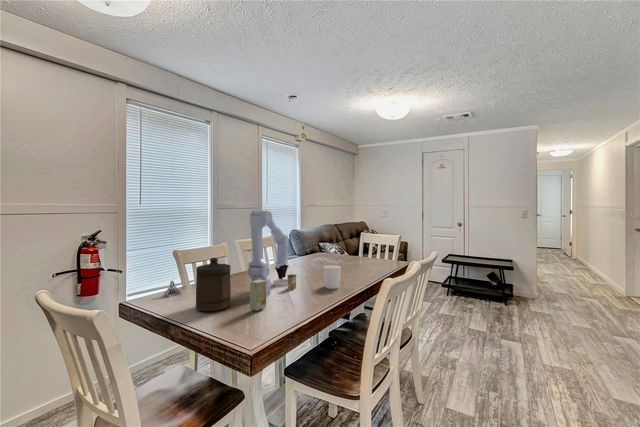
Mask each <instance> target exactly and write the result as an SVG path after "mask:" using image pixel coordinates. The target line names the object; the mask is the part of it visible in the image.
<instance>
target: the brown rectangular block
mask: <svg viewBox="0 0 640 427" xmlns="http://www.w3.org/2000/svg"><path fill="white" fill-rule="evenodd" d="M286 275H287V274H286ZM287 279H288V285H287V290H289V291H294V290H295V289H297V274H293V273H292V274H291V273H290V274H288V275H287Z"/></svg>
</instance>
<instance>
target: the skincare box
mask: <svg viewBox="0 0 640 427" xmlns="http://www.w3.org/2000/svg"><path fill="white" fill-rule="evenodd" d="M249 287H250V289H249V290H250V291H249V292H250V294H249V295H250V297H249V309H250V310H252V311H259V310H262V309H265V308H267V297H266V280H261V279H260V280H255V281H250V285H249Z"/></svg>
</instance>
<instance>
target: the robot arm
mask: <svg viewBox="0 0 640 427" xmlns="http://www.w3.org/2000/svg"><path fill="white" fill-rule="evenodd" d="M249 221H250V232H251V233H250V235H251V237H250V238H251V249H252V250H251V251H252V260H251V261H249V263H248V269H247V274H248V276H249V278H250V280H251V281H255V280H260V279H261V280H266V298H268V297H269V296H270V295H272V293H271V292H272V291H271V290H272V286H271V285H272V284H271V283H272V282H271V279H270V278H268V276H269V275H270V269H269V268H270V267H269V264H268V262H267V261H266V260H265V259H264V248H263V247H264V246H263V244H264V243H263V231H262V230H263V228H265V227H266V226H267V227H268V228H269V229H270V233H271V235H272V237H274V242H275V244H276V261H275V263H274V264H275V266H274V270H275V271H276V273H277V277H278V278H277V279H286V275H287V270H288V269H289V263H288V261H289V260H288V257H287V256H288V254H287V253H288V246H289V243H290V242H289V241H290V238H289V236H288V235H287V234H285V233H284V232H283V230H282V229H281V227H280V226H277V225H276V223H275V221H274V219H273V213H272V212H271V210H267V209H266V210H252V212H251V213H250V214H249ZM251 281H250V282H251ZM247 297H249V298H250V294H248V296H247Z"/></svg>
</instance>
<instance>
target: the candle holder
mask: <svg viewBox="0 0 640 427" xmlns="http://www.w3.org/2000/svg"><path fill="white" fill-rule="evenodd" d="M341 269H342V266H341V265H335V264H331V265H330V264H328V265H324V266H323V277H324V278H323V279H324V288H326V289H331V290H333V289H334V290H336V289H339V288H340V286H341V271H342V270H341Z"/></svg>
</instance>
